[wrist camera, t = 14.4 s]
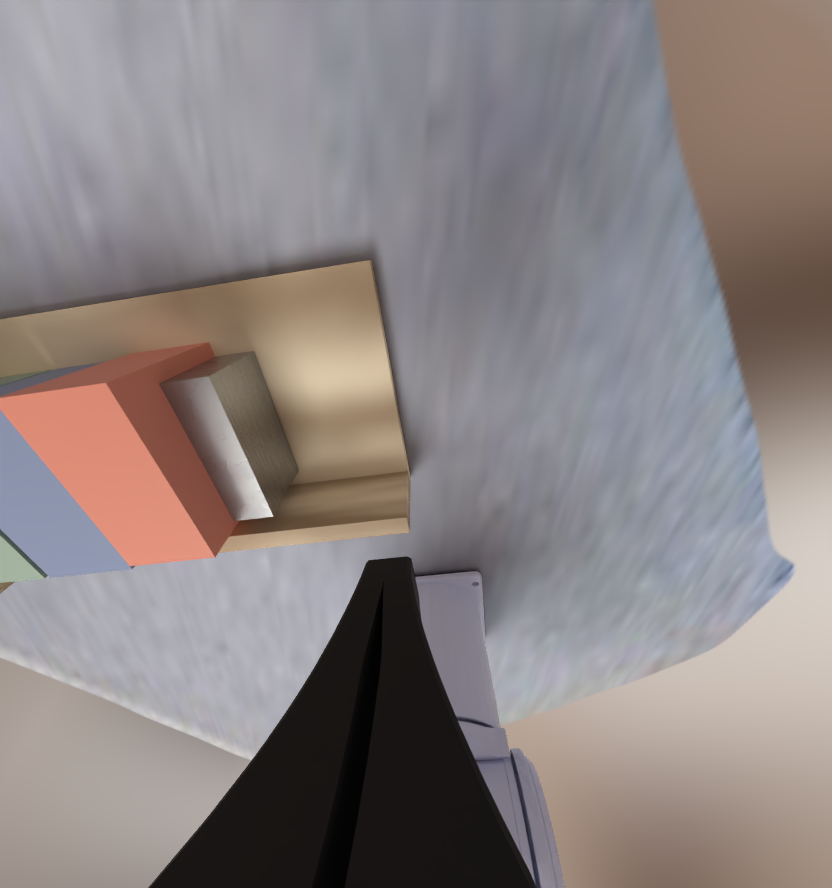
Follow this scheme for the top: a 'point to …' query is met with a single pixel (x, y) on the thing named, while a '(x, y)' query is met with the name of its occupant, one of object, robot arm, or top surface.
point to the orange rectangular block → (127, 454)
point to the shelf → (269, 385)
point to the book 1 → (47, 505)
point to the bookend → (235, 432)
